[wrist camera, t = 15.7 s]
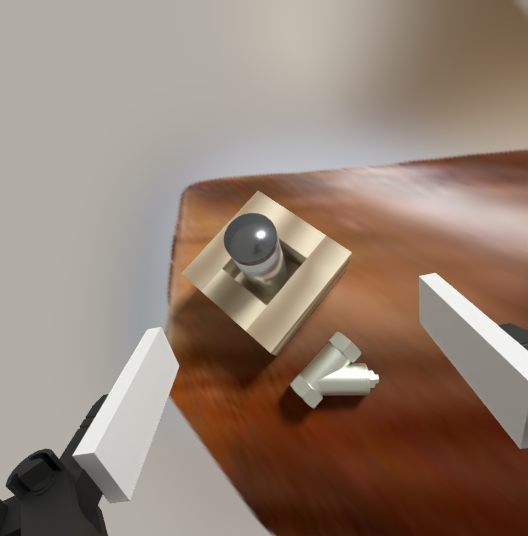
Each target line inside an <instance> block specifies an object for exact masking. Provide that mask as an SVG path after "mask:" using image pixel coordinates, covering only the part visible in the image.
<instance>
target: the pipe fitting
mask: <svg viewBox="0 0 528 536" xmlns="http://www.w3.org/2000/svg"><path fill="white" fill-rule="evenodd" d="M360 355H361V352H360V350H359V349H358V348H357V347H356V346H355V345H354V344H353V343H352V342H351V341H350V340H349V339H348V338H347V337H345V336H344V335H343V334H341V333H339V332H336V333H335V334H334V335H333V336H332V337H331V338H330V339H329V340H328V343H327V344H326V345H325V346H324V347H323V348H322V349H321V351H320V352H319V353H318V354H317V355H316V356H315V357H314V358H313V360H312V361H311V362H310V363H309V364H308V365H307V366H306V368H305V369H304V370H303V371H302V372H301V373H300V374H298V375H297V376H296V377H295V379H294V380H293V381H292V382H291V383H290V386H291V387H292V388H293V390H294V391H295V392H296V393H297V394H298V395H299V396H300V397H301V398H302V399H303V400H304V401H305V402H306V403H307V404H308V405H309V406H310V407H311V408H315V407H316V406H317V405H318V403H319V402H320V401H321V400H322V399H323V397H322V396H328V395H369V394H370V388H375V383H379V377H378V375H374V373H373V371H368V368H367V366H366V364H365V363H354V362H355V360H356V359H357V358H358V357H359V356H360Z"/></svg>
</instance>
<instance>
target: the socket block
mask: <svg viewBox="0 0 528 536" xmlns="http://www.w3.org/2000/svg"><path fill="white" fill-rule="evenodd" d="M247 213H258V214H262V215H264V216H266V217H268V218H269V219H270V220H271V221H272V222H273V224H274V226H275V228H276V231H277V235H278V239H279V242H280V246H281V250H282V253H283V257H284V261H285V264H286V268H287V272H288V281H287V283H286V284H285V285H284V286H283V287H282V289H281V290H280V291H279V292H278V293H277V294H276V295H273V296H264V295H261V294H259V293H257V292H256V291H255V290H254V289H253V287H252V286H251V284H250V283H249V282H248V280H247V279H246V277H245V276H244V275H243V273H242V272H241V270H240V269H239V268H238V266H237V265H236V263H235V262H234V261H233V259H232V258H231V256H230V255H229V253H228V252H227V250H226V248H225V246H224V234H225V231H226V229H227V227H228V225H229V224H230V223H231V222H232V221H233V220H234V219H236V218H237V217H239V216H241V215H243V214H247ZM351 254H352V252H350V251H349V250H347V249H346V248H344V247H342V246H341V245H339V244H338V243H336V242H335V241H333V240H332V239H330V238H329V237H327V236H326V235H324V234H323V233H321V232H320V231H318V230H317V229H315V228H314V227H312V226H311V225H309V224H308V223H306V222H305V221H303V220H302V219H300V218H299V217H297V216H296V215H294V214H293V213H291V212H290V211H288V210H287V209H285V208H284V207H282V206H281V205H279V204H278V203H276V202H275V201H273V200H271V199H270V198H268V197H267V196H265V195H264V194H262V193H261V192H259V191H257V192H256V193H255V194H254V196H253V197H252V198H251V199H250V200H249V201H248V202H247V203H246V204H245V205H244V206H243V207H242V208H241V210H240V211H239V212H238V213H237V214H236V215H235V216H234V217H233V218H232V219H231V220H230V221H229V223H228V224H227V225H226V226H225V227H224V228H223V229H222V230H221V231H220V232H219V233H218V234H217V235H216V237H215V238H214V239H213V240H212V241H211V242H210V243H209V244H208V245H207V246H206V247H205V248H204V250H203V251H202V252H201V253H200V254H199V255H198V256H197V257H196V258H195V259H194V260H193V261H192V262H191V264H190V265H189V266H188V267H187V268H186V269H185V270H184V271H183V272H182V273H181V274H182V275H183V276H184V277H186V278H187V279H188V280H189V281H190V282H191V283H192V284H193V285H195V286H196V287H197V288H198V289H199V290H200V291H201V292H202V293H204V294H205V295H206V296H207V297H208V298H209V299H210V300H211V301H213V302H214V303H215V304H216V305H217V306H218V307H219V308H220V309H222V310H223V311H224V312H225V313H226V314H227V315H228V316H229V317H231V318H232V319H233V320H234V321H235V322H236V323H237V324H238V325H240V326H241V327H242V328H243V329H244V330H245V331H246V332H247V333H249V334H250V335H251V336H252V337H253V338H254V339H255V340H256V341H257V342H259V343H260V344H261V345H262V346H263V347H264V348H265V349H266V350H268V351H269V352H270V353H271V354H273V355H275V356H278V354H279V353H280V352H281V351H282V349H283V348H284V347H285V346H286V344H287V343H288V342H289V341H290V339H291V338H292V337H293V336H294V334H295V333H296V332H297V331H298V330H299V328H300V327H301V326H302V325H303V323H304V322H305V321H306V320H307V318H308V317H309V316H310V315H311V313H312V312H313V311H314V310H315V308H316V307H317V306H318V305H319V303H320V302H321V301H322V300H323V298H324V297H325V296H326V295H327V294H328V292H329V291H330V290H331V289H332V287H333V286H334V285H335V284H336V282H337V281H338V280H339V279H340V277H341V276H342V275H343V274H344V272H345V271H346V269H347V266H348V263H349V260H350V257H351Z"/></svg>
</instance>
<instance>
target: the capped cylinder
mask: <svg viewBox="0 0 528 536" xmlns="http://www.w3.org/2000/svg"><path fill="white" fill-rule="evenodd" d="M224 246H225V248H226V250H227V252H228V253H229V255H230V256H231V258H232V259H233V261H234V262H235V263H236V265H237V266H238V268H239V269H240V270H241V272H242V273H243V275H244V276H245V277H246V279H247V280H248V282H249V283H250V284H251V286H252V287H253V289H254V290H255V291H256V292H257V293H259V294H261V295H264V296H273V295H276V294H277V293H278V292H279V291H280V290H281V289H282V287H283V286H284V285H285V284H286V283H287V281H288V272H287V268H286V264H285V261H284V257H283V253H282V250H281V246H280V242H279V239H278V235H277V231H276V228H275V226H274V224H273V222H272V221H271V220H270V219H269V218H268V217H266V216H264V215H262V214H258V213H247V214H243V215H241V216H239V217H237V218H236V219H234V220H233V221H232V222H231V223H230V224H229V225H228V227H227V229H226V231H225V234H224Z"/></svg>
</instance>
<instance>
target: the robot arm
mask: <svg viewBox="0 0 528 536" xmlns="http://www.w3.org/2000/svg"><path fill="white" fill-rule="evenodd" d="M419 312H420V324H421V325H422V326H423V328H424V329H425V330H426V331H427V333H428V334H429V335H430V336H431V338H432V339H433V340H434V341H435V343H436V344H437V345H438V346H439V348H440V349H441V350H442V351H443V353H444V354H445V355H446V356H447V358H448V359H449V360H450V362H451V363H452V364H453V365H454V367H455V368H456V369H457V370H458V372H459V373H460V374H461V375H462V377H463V378H464V379H465V380H466V382H467V383H468V384H469V385H470V387H471V388H472V389H473V390H474V392H475V393H476V394H477V395H478V397H479V398H480V399H481V400H482V402H483V403H484V404H485V405H486V407H487V408H488V409H489V410H490V412H491V413H492V414H493V415H494V417H495V418H496V419H497V421H498V422H499V423H500V424H501V426H502V427H503V428H504V429H505V431H506V432H507V433H508V434H509V436H510V437H511V438H512V439H513V441H514V442H515V443H516V444H517V446H518V447H519V448H520V449H522V448H528V331H527V330H525V329H522V328H520V327H518V326H516V325H513V324H511V323H508V324H502V325H497V324H495V323H494V322H493V321H492V320H491V319H490V318H488V317H487V316H486V315H485V314H484V313H482V312H481V311H480V310H479V309H478V308H477V307H475V306H474V305H473V304H472V303H471V302H469V301H468V300H467V299H466V298H465V297H463V296H462V295H461V294H460V293H459V292H458V291H456V290H455V289H454V288H453V287H452V286H450V285H449V284H448V283H447V282H446V281H445V280H443V279H442V278H441V277H440V276H439V275H437V274H436V273H433V274H428V275H423V276H419ZM178 368H179V364H178V362H177V360H176V358H175V356H174V354H173V351H172V349H171V347H170V345H169V343H168V341H167V338H166V336H165V334H164V332H163V330H162V328H161V327H158V328H153V329H148V330H147V331H146V333H145V334H144V336H143V338H142V340H141V341H140V343H139V344H138V346H137V348H136V350H135V351H134V353H133V355H132V356H131V358H130V360H129V361H128V363H127V365H126V366H125V368H124V370H123V371H122V373H121V375H120V376H119V378H118V380H117V382H116V383H115V385H114V386H113V388H112V390H111V391H110V393H109V394H107V395H103V396H102V397H101V398H100V399H99V400H98V401H97V402H96V403H95V404H94V405H93V406H92V408H91V410H90V411H89V413H88V415H87V416H86V419H85V420H84V421H83V422H82V424H81V425H80V429H78V430H77V432H76V433H75V435H74V437H73V438H72V440H71V441H70V443H69V445H68V446H67V448H66V449H65V451H64V453H63V454H62V456H61V457H60V459H58V457H57V456H56V455H55V454H54V452H53V451H52V450H50V449H43V450H39V451H37V452H35V453H33V454H31V455H30V456H28V457H27V458H26V459H24V460H23V461H22V462H21V463H20V464H19V465H18V466H17V467H16V468H15V469H14V470H13V471H12V473H11V475H10V476H9V478H8V480H7V483H6V487H7V488H8V489H9V490H10V491H11V492H12V493H13V494H14V495H15V496H13V497H11V498H9V499H7V500H4V501H2V500H1V499H0V536H108V534H107V531H106V526H105V522H104V520H103V519H104V518H103V515H102V511H101V509H100V508H99V506H98V503H99V501H100V499H101V497H102V495H104V496H105V498H106V499H107V500H108V501H109V503H116V502H124V501H130V499H131V496H132V494H133V491H134V488H135V485H136V483H137V480H138V477H139V474H140V472H141V469H142V466H143V464H144V461H145V458H146V455H147V453H148V450H149V447H150V445H151V442H152V439H153V436H154V434H155V431H156V428H157V426H158V423H159V420H160V417H161V415H162V411H163V409H164V407H165V403H166V401H167V398H168V396H169V393H170V390H171V387H172V385H173V382H174V379H175V377H176V374H177V371H178Z"/></svg>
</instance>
